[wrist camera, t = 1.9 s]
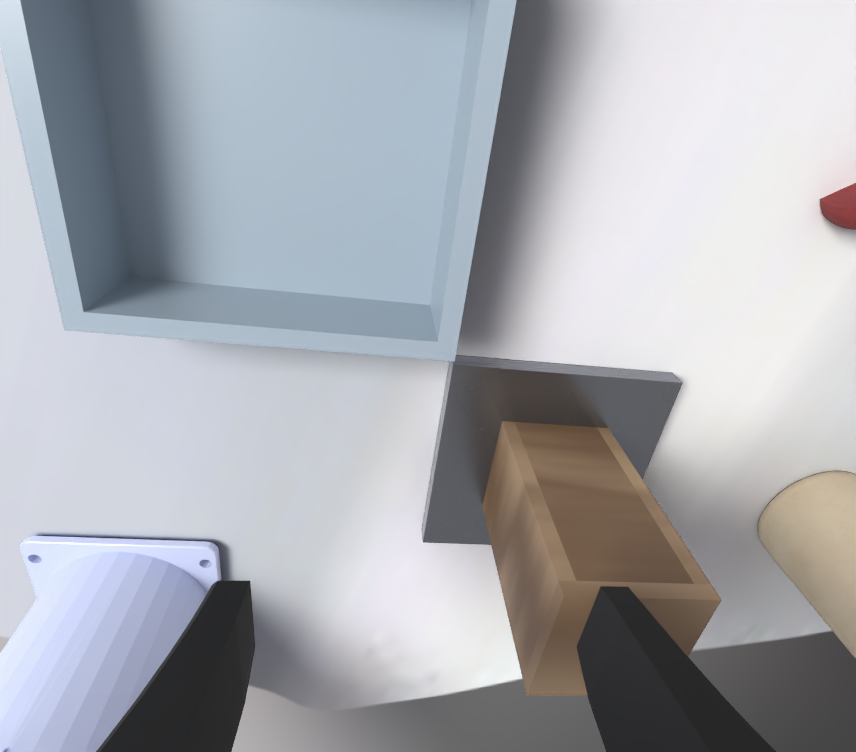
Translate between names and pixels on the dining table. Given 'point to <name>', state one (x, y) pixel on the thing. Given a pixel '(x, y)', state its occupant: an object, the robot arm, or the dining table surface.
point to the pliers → (841, 207)
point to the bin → (260, 164)
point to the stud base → (530, 403)
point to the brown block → (581, 547)
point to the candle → (818, 545)
